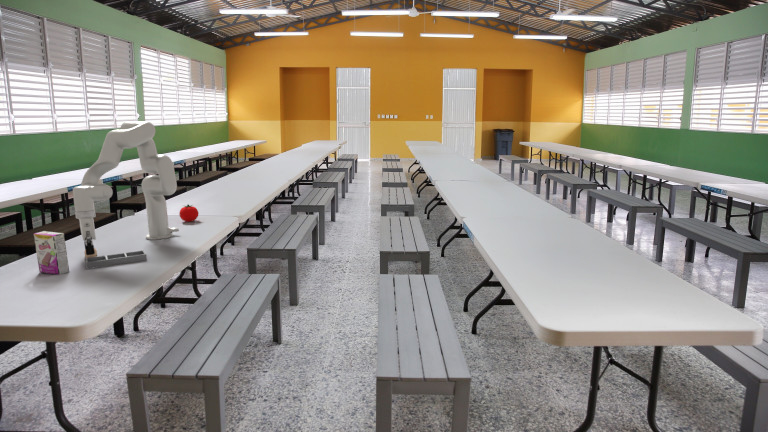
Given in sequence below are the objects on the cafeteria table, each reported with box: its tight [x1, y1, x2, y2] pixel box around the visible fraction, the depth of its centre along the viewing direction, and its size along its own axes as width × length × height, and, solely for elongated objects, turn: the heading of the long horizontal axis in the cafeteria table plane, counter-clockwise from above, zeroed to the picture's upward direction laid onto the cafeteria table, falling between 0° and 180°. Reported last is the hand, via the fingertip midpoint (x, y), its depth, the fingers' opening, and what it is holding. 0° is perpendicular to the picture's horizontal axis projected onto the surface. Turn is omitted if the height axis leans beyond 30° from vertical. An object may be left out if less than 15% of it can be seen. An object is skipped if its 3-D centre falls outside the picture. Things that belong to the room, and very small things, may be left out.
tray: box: [85, 249, 148, 270], centre depth 227 cm, size 23×8×3 cm, turn 121°
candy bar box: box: [33, 230, 70, 276], centre depth 212 cm, size 11×5×16 cm, turn 71°
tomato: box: [178, 204, 199, 223], centre depth 305 cm, size 10×10×10 cm
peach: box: [84, 247, 98, 260], centre depth 234 cm, size 5×5×5 cm
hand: (89, 252), depth 233 cm, fingers open, 9 cm apart
